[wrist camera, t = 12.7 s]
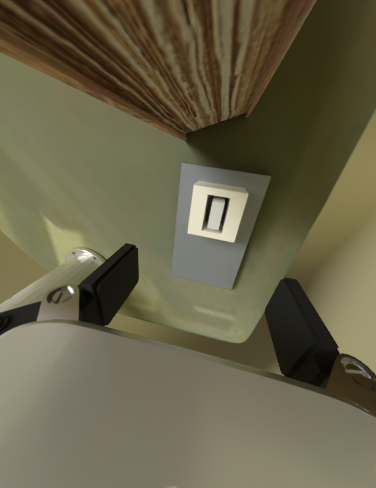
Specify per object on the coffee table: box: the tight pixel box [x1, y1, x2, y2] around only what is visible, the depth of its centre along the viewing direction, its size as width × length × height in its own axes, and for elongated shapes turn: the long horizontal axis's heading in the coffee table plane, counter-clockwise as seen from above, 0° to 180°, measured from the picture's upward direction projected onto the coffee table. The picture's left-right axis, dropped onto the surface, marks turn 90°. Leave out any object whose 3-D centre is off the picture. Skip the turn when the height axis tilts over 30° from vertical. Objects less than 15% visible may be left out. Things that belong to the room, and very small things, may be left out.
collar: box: [187, 181, 249, 243], centre depth 24 cm, size 7×7×4 cm
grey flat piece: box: [171, 163, 271, 290], centre depth 27 cm, size 22×13×6 cm, turn 173°
